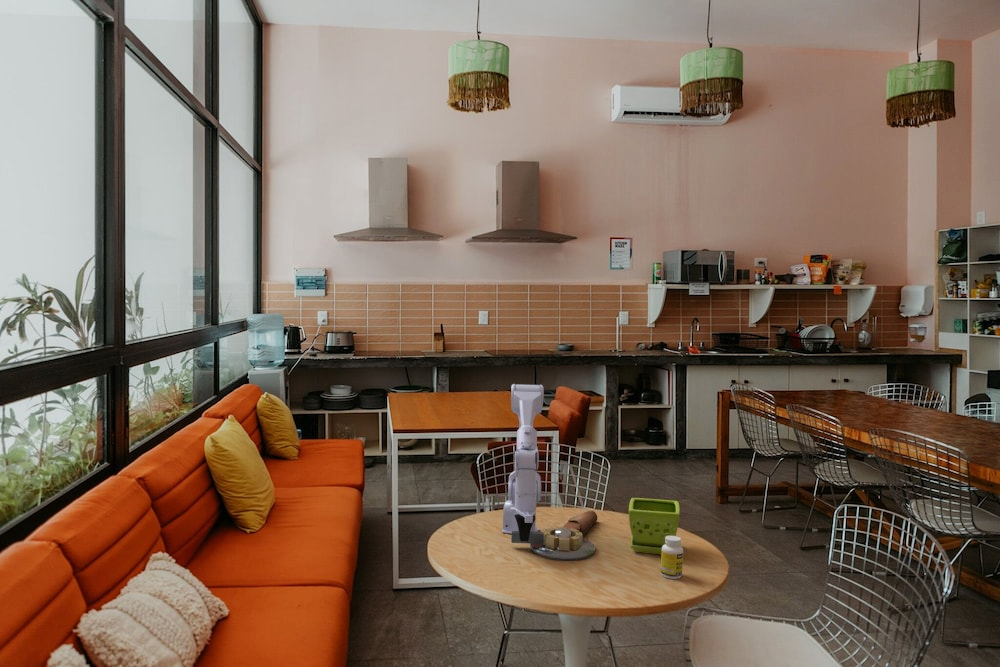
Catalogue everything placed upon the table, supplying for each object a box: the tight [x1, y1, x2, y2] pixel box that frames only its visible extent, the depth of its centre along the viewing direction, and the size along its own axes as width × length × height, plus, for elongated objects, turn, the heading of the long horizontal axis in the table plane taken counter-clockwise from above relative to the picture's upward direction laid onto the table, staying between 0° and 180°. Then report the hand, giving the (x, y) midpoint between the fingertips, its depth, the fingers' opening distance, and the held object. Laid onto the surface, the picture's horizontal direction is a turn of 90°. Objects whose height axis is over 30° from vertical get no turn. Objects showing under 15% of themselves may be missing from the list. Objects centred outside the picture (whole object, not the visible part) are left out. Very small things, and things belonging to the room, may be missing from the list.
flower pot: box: [628, 497, 681, 555], centre depth 205 cm, size 14×14×13 cm
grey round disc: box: [529, 528, 596, 562], centre depth 203 cm, size 18×18×5 cm
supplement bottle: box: [660, 535, 684, 580], centre depth 186 cm, size 5×5×10 cm
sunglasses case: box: [562, 510, 598, 538], centre depth 222 cm, size 18×7×7 cm
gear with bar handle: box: [510, 526, 584, 551], centre depth 203 cm, size 11×20×3 cm, turn 90°
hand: (524, 540), depth 201 cm, fingers closed
